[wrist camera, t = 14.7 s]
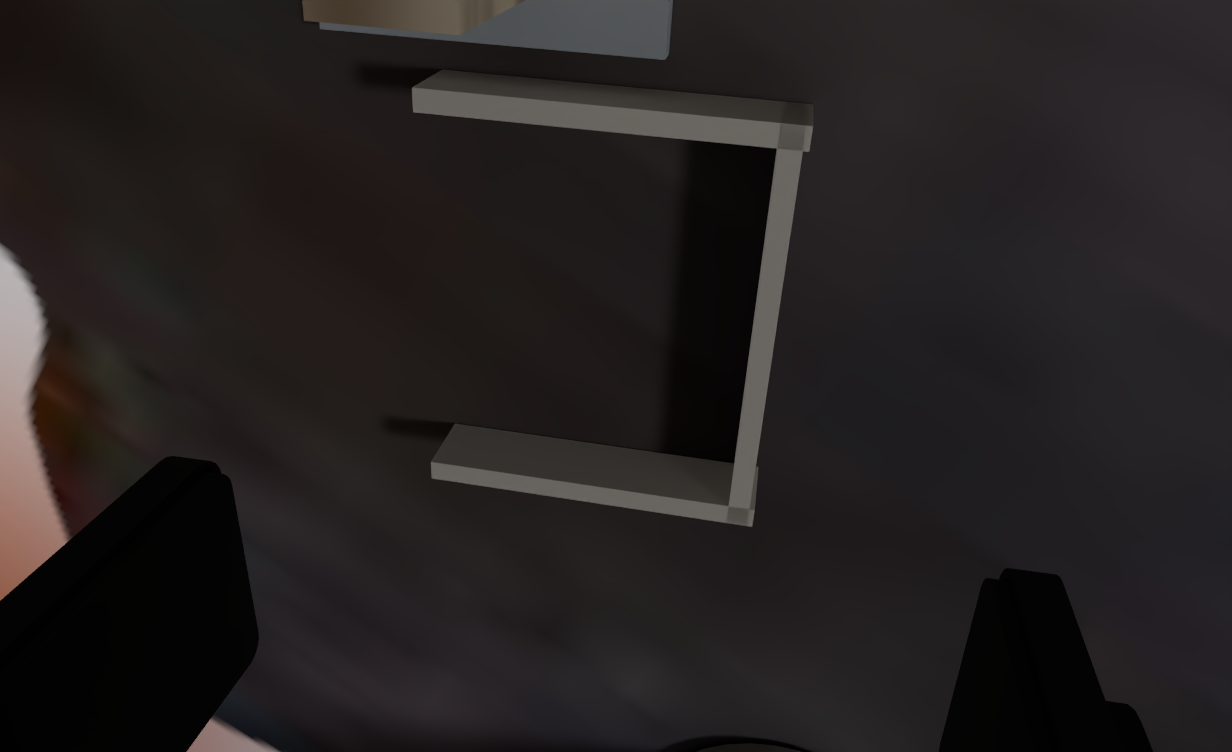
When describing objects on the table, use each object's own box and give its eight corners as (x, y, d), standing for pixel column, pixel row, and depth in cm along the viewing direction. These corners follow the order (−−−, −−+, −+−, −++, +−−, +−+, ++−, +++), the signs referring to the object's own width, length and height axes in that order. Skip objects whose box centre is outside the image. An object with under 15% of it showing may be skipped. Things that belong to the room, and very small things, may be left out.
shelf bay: (755, 483, 40) (751, 526, 37) (455, 439, 42) (431, 478, 39) (812, 104, 32) (813, 126, 30) (442, 69, 34) (412, 87, 31)
